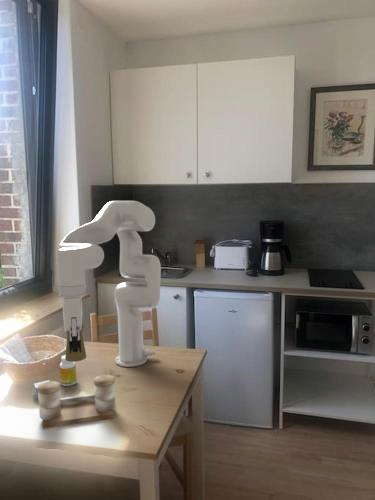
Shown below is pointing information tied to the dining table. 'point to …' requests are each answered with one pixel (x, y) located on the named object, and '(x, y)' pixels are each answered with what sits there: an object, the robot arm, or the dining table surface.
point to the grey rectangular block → (37, 388)
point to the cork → (77, 355)
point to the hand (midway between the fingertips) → (75, 350)
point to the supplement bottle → (67, 372)
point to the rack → (76, 403)
